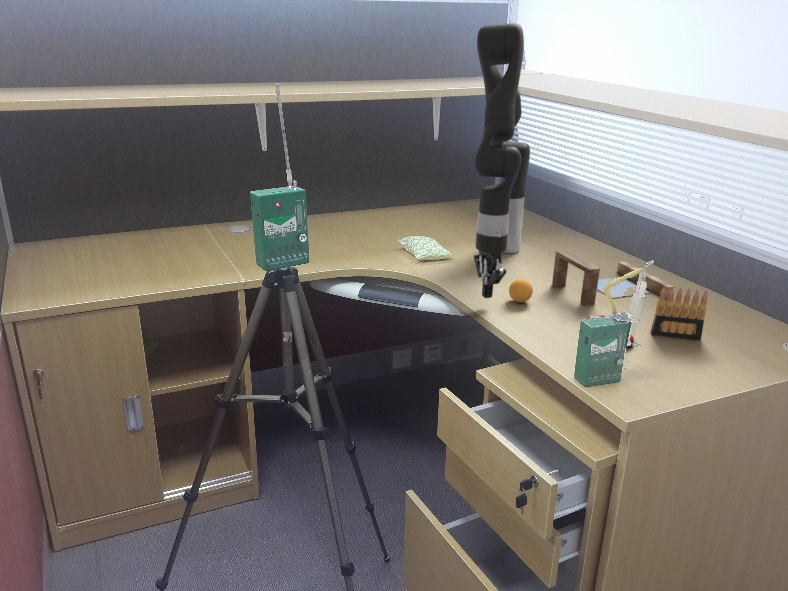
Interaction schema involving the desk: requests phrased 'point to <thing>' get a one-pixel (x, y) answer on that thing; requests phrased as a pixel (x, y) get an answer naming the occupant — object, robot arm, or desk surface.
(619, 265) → the stopper wall
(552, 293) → the desk surface
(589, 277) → the bridge
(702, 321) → the ammunition clip
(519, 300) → the ball
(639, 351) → the desk surface
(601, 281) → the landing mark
